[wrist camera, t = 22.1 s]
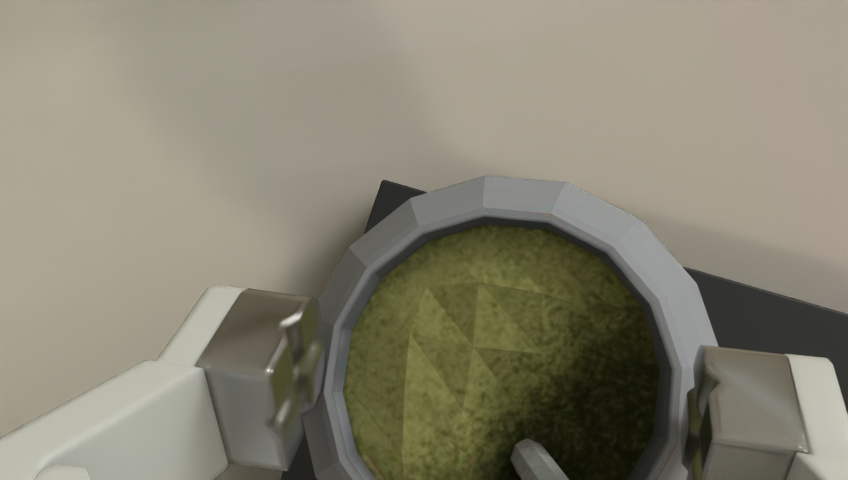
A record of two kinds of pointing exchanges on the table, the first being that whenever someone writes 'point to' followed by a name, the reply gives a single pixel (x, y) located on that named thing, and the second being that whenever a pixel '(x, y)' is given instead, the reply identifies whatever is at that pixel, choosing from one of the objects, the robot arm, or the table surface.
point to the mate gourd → (506, 342)
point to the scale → (727, 310)
